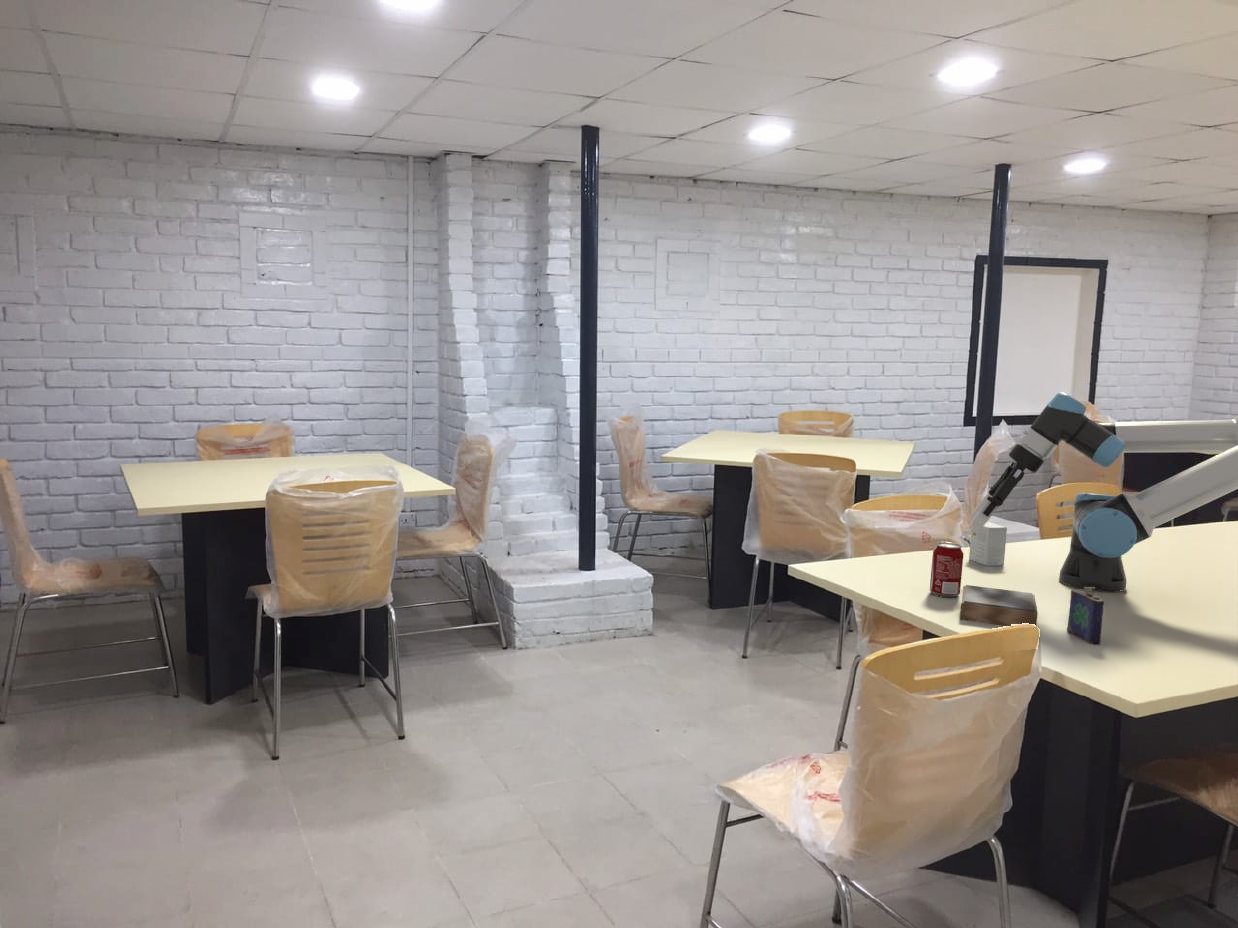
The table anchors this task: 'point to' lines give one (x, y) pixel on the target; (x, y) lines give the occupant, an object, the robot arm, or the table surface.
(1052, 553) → the table surface
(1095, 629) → the flask
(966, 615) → the riser
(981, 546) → the small box
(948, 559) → the soda can
